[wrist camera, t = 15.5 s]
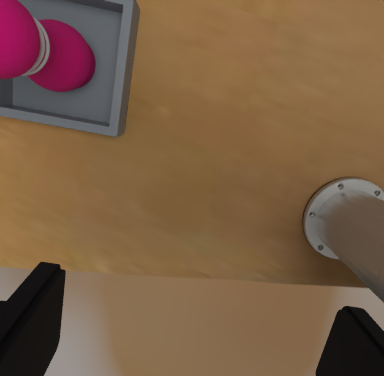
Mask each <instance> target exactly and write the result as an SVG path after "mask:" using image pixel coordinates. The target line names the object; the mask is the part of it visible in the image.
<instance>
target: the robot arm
mask: <svg viewBox="0 0 384 376" xmlns="http://www.w3.org/2000/svg"><path fill="white" fill-rule="evenodd" d="M338 185H339V186H338ZM310 213H311V214H310ZM303 229H304V233H305V236H306V238H307V240H308V242H309V243H310V244H311V246H312V247H313V248H314V249H315V250H316V251H317V252H319V253H320V254H322V255H323V256H326V257H328V258H331V259H338V260H341V261H342V262H343V263H344V264H345V265H346V266H347V267H348V268H349V269H350V270H351V271H352V272H353V273H354V274H355V275H356V276H357V277H358V278H359V279H360V280H361V281H362V282H363V283H364V284H365V285H366V286H367V287H368V288H369V289H370V290H372V291H373V293H375V295H376V296H378V297H379V298H380V299H381V300H382V301H383V302H384V192H383V190H382V189H381V188H380V187H378V186H377V185H376V184H374V183H372V182H370V181H367V180H365V179H362V178H356V177H347V178H341V179H337V180H335V181H332V182H330V183H328V184H327V185H325V186H323V187H322V188H321V189H320V190H319V191H317V192H316V193H315V195H314V196H313V197H312V198H311V200H310V201H309V203H308V205H307V207H306V210H305V213H304V218H303ZM64 285H65V270H62V269H60V265H59V264H53V263H46V262H40V263H39V264H38V265H37V267H36V268H35V269H34V270H33V271H32V272H31V274H30V275H29V276H28V277H27V278H26V279H25V280H24V282H23V283H22V284H21V285H20V286H19V287H18V289H17V290H16V291H15V292H14V293H13V294H12V295H11V297H10V298H9V299H8V300H7V301H0V376H44V374H45V372H46V370H47V368H48V366H49V364H50V362H51V360H52V358H53V356H54V354H55V352H56V350H57V347H58V344H59V339H60V329H61V318H62V307H63V296H64ZM316 376H384V331H383V330H382V329H381V328H380V327H379V325H378V324H377V323H376V322H375V321H374V320H373V319H372V318H371V317H370V316H369V314H368V313H367V312H366V311H365V310H364V309H362V308H357V307H349V306H345V307H343V308H342V310H339V311H338V312H337V315H336V317H335V320H334V323H333V325H332V328H331V331H330V334H329V337H328V339H327V342H326V345H325V347H324V350H323V353H322V355H321V358H320V361H319V364H318V366H317V369H316Z"/></svg>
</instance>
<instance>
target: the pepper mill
mask: <svg viewBox="0 0 384 376" xmlns="http://www.w3.org/2000/svg"><path fill="white" fill-rule="evenodd" d="M95 67H96V63H95V56H94V53H93V51H92V49H91V47H90V46H89V45H88V44H87V43H86V41H85V40H84V38H83V37H82V35H81V34H80V33H79V32H78V31H77V30H76V29H74V28H73V27H72V26H70V25H68V24H66V23H64V22H61V21H58V20H54V19H44V20H37V19H36V18H34V17H33V16H32V15H31V14H30V12H29V11H28V10H27V9H26V7H25V6H24V5H23V4H22V3H20V2H19V1H18V0H0V79H10V78H15V77H18V76H20V75H22V76H26V75H27V76H28V77H29V78H30V79H31V80H32V81H33V82H35V83H36V84H37V85H39V86H41V87H43V88H45V89H48V90H51V91H56V92H66V91H70V90H73V89H76V88H80V87H83V86H84V85H86V84H87V83H88V82H89V81H90V80H91V79H92V77H93V75H94V72H95Z"/></svg>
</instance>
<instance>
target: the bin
mask: <svg viewBox="0 0 384 376" xmlns="http://www.w3.org/2000/svg"><path fill="white" fill-rule="evenodd" d="M18 1H19V2H20V3H22V4H23V5H24V6H25V7H26V9H27V10H28V11H29V12H30V14H31V15H32V16H33V17H34V18H36V19H37V20H44V19H54V20H58V21H61V22H64V23H66V24H68V25H70V26H72V27H73V28H74V29H76V30H77V31H78V32H79V33H80V34H81V35H82V37H83V38H84V40H85V41H86V43H87V44H88V45H89V46H90V47H91V49H92V51H93V53H94V56H95V63H96V67H95V72H94V75H93V77H92V79H91V80H90V81H89V82H88V83H87V84H86V85H84V86H83V87H80V88H76V89H73V90H70V91H66V92H56V91H51V90H48V89H45V88H43V87H41V86H39V85H37V84H36V83H35V82H33V81H32V80H31V79H30V78H29V77H28V76H27V75H26V76H22V75H20V76H18V77H15V78H10V79H0V116H4V117H10V118H15V119H21V120H26V121H32V122H37V123H42V124H48V125H53V126H59V127H64V128H70V129H75V130H81V131H86V132H92V133H97V134H103V135H108V136H114V137H118V136H120V135H121V134H123V133H124V130H125V123H126V115H127V107H128V99H129V92H130V84H131V76H132V68H133V61H134V53H135V45H136V38H137V30H138V22H139V14H140V8H139V6H138V4H137V2H136V0H18Z"/></svg>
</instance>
